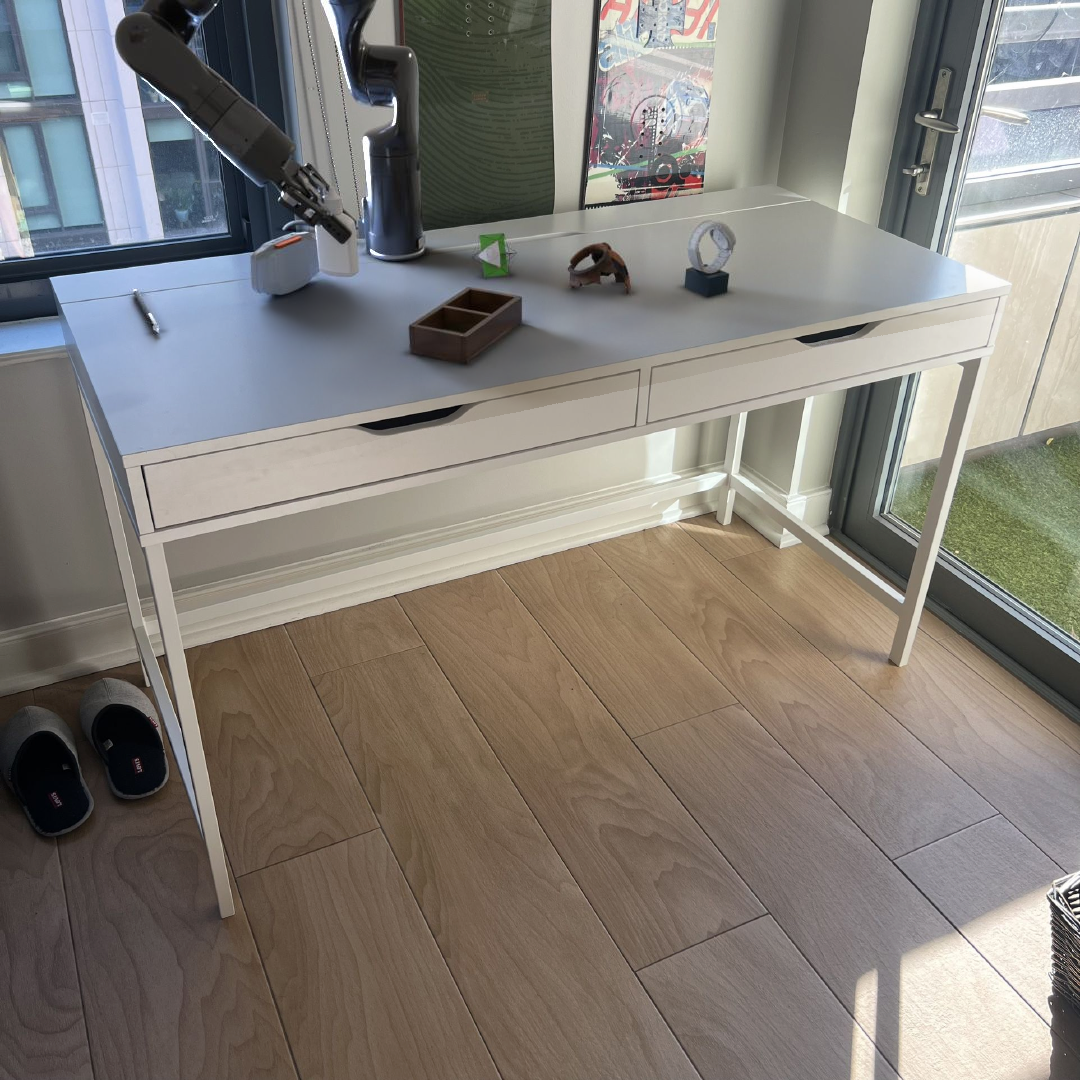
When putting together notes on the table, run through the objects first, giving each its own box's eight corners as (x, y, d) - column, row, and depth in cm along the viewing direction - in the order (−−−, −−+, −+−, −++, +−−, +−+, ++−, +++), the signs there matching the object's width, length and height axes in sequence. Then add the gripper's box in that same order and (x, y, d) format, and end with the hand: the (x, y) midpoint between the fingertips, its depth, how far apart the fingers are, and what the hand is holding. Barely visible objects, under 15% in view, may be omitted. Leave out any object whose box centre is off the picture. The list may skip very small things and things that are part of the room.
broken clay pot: (635, 303, 168) (613, 262, 163) (581, 323, 171) (558, 284, 166) (636, 260, 176) (615, 220, 171) (584, 280, 179) (563, 241, 174)
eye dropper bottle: (335, 281, 148) (327, 194, 141) (316, 270, 152) (307, 184, 145) (363, 275, 150) (356, 189, 143) (343, 264, 154) (335, 179, 147)
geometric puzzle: (465, 253, 179) (472, 223, 172) (504, 249, 181) (512, 220, 174) (475, 289, 177) (482, 261, 170) (514, 285, 179) (523, 257, 171)
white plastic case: (312, 273, 176) (307, 225, 172) (326, 277, 175) (321, 228, 170) (251, 300, 165) (244, 249, 161) (266, 303, 164) (259, 253, 160)
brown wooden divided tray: (409, 353, 149) (408, 325, 147) (468, 312, 162) (467, 286, 160) (467, 364, 146) (466, 336, 144) (522, 322, 159) (522, 296, 157)
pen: (155, 334, 153) (154, 327, 152) (132, 292, 167) (130, 285, 167) (161, 333, 153) (160, 326, 153) (137, 291, 167) (136, 284, 167)
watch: (736, 290, 172) (744, 222, 166) (699, 299, 168) (706, 230, 162) (712, 280, 176) (719, 213, 170) (675, 289, 172) (681, 221, 166)
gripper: (257, 134, 134) (360, 231, 140) (280, 109, 145) (375, 200, 152) (221, 176, 136) (324, 269, 143) (246, 148, 148) (341, 236, 155)
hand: (350, 233), depth 148 cm, fingers closed on eye dropper bottle, 4 cm apart
